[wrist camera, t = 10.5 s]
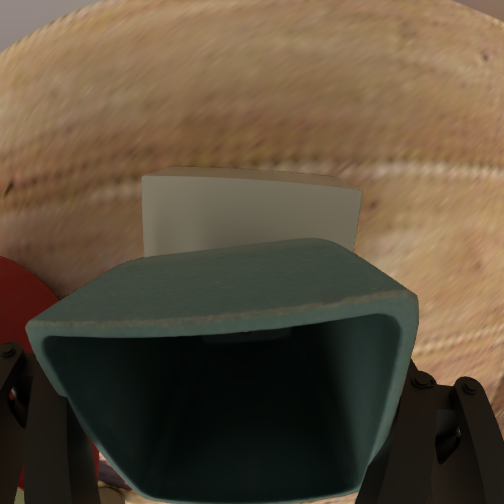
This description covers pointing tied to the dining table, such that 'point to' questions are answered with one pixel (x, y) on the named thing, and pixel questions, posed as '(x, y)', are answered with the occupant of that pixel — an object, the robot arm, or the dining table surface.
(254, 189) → the stone block
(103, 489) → the ceramic mug
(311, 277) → the flower pot
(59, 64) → the dining table surface
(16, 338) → the mixing bowl
